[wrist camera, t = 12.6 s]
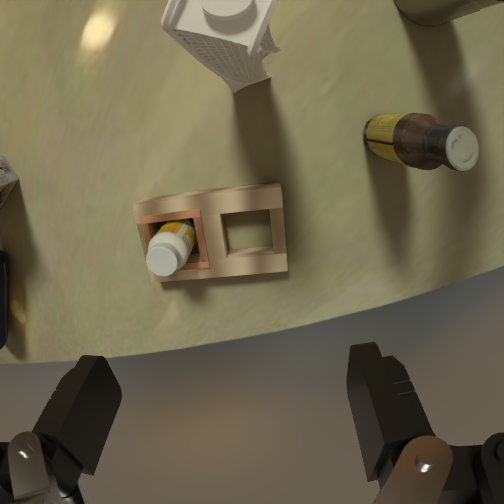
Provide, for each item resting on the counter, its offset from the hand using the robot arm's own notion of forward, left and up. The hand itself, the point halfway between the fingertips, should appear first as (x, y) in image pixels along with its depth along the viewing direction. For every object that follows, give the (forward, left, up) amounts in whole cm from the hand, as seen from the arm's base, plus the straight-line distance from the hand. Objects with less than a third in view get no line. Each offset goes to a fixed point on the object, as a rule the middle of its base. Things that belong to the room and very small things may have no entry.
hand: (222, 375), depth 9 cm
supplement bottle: (+11, +8, -36) cm, 38 cm away
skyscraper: (-1, -14, -36) cm, 39 cm away
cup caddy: (+6, +8, -36) cm, 37 cm away
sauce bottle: (-19, -4, -36) cm, 41 cm away
